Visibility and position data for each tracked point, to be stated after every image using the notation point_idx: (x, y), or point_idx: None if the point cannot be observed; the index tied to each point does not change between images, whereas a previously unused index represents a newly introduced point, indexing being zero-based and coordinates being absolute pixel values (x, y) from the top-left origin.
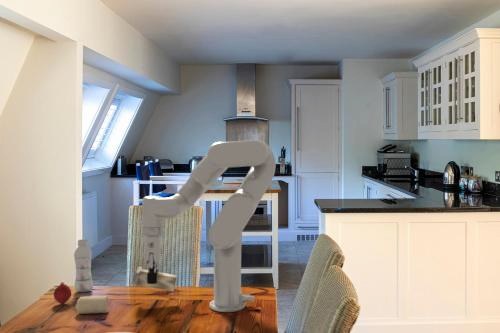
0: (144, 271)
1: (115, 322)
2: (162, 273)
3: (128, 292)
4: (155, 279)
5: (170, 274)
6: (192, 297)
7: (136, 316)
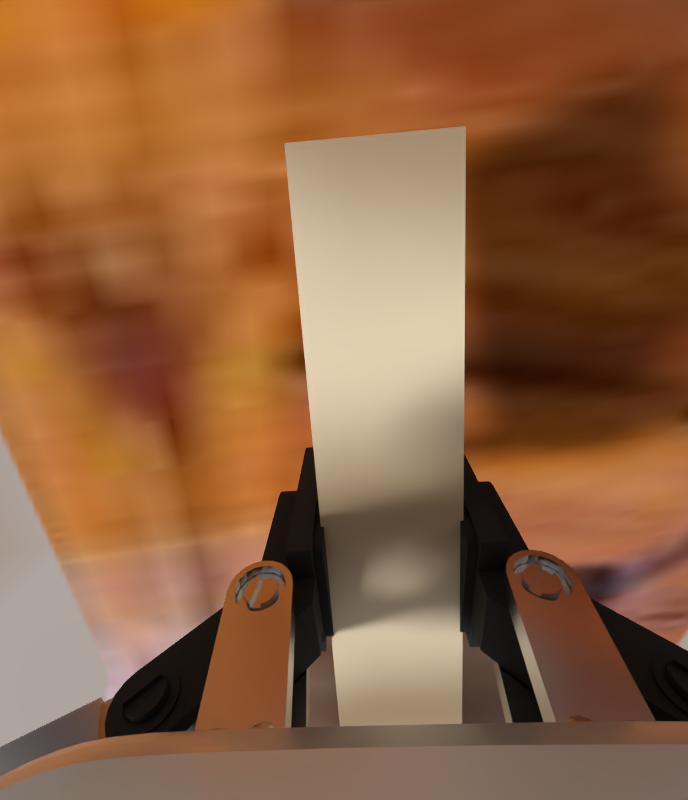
0: (442, 683)
1: (675, 521)
2: (357, 435)
3: (167, 547)
4: (470, 477)
5: (315, 289)
6: (203, 14)
7: (617, 439)
